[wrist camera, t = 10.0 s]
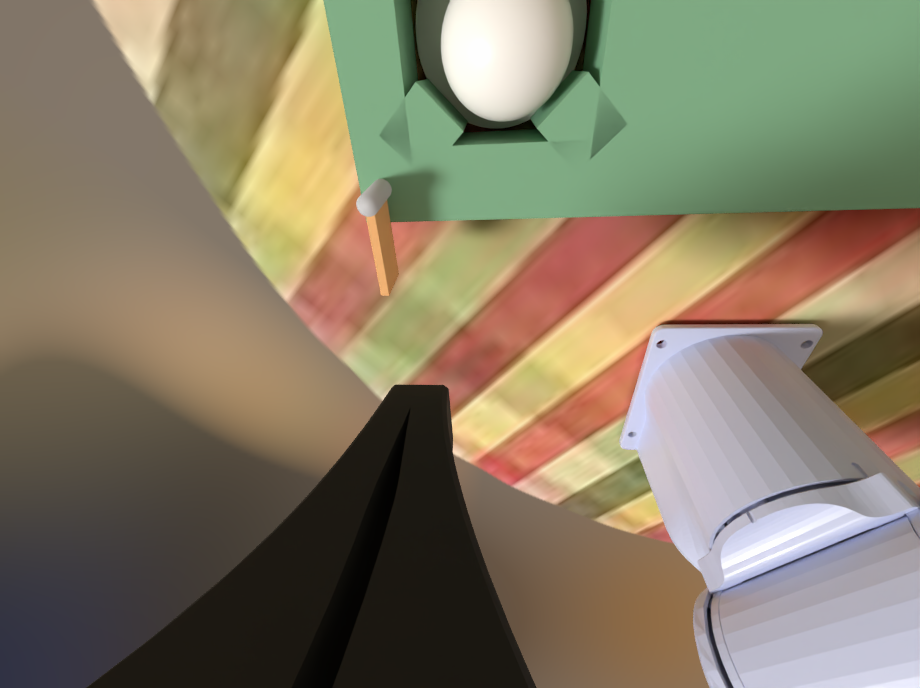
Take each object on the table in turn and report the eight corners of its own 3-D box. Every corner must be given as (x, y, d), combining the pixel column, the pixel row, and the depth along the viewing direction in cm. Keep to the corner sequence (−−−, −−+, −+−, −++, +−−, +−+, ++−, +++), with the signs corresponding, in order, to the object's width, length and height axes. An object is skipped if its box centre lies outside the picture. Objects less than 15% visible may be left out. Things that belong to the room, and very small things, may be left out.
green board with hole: (1000, 232, 16) (1171, 289, 12) (391, 245, 18) (363, 297, 14) (1475, -359, 8) (2403, -757, 4) (318, -214, 10) (209, -388, 6)
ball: (392, 45, 12) (476, -117, 9) (460, 53, 14) (541, -67, 12) (471, 156, 12) (576, 36, 9) (522, 143, 15) (615, 47, 12)
